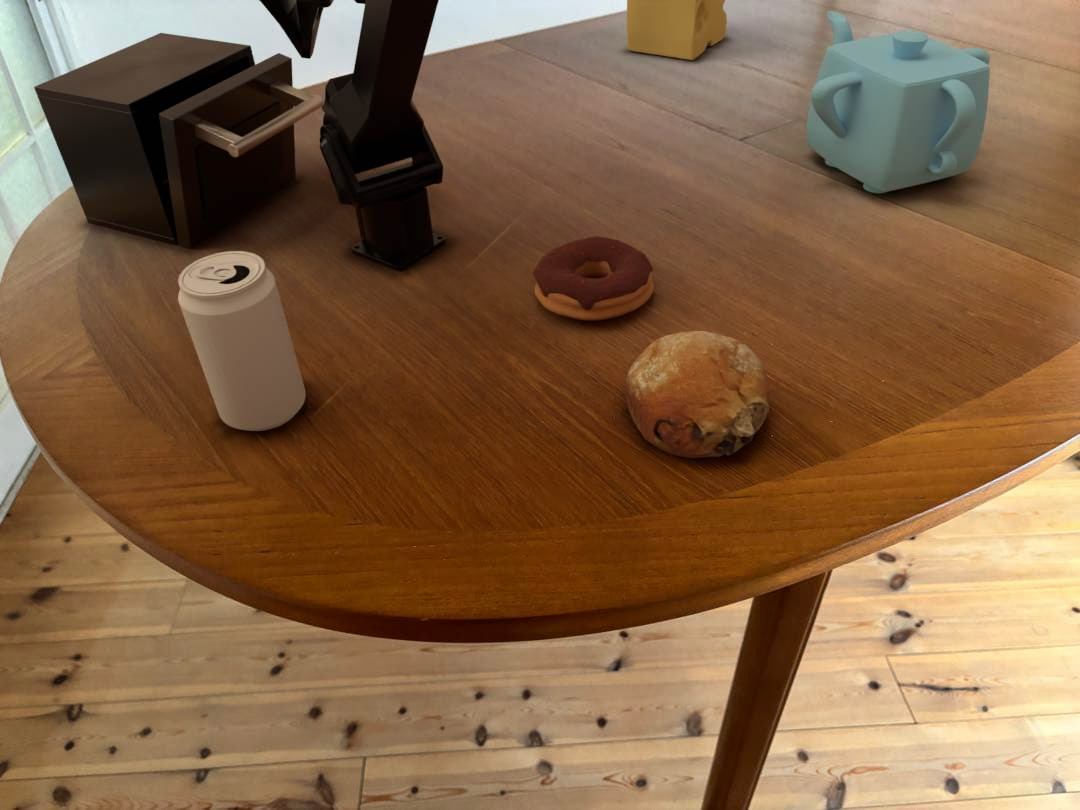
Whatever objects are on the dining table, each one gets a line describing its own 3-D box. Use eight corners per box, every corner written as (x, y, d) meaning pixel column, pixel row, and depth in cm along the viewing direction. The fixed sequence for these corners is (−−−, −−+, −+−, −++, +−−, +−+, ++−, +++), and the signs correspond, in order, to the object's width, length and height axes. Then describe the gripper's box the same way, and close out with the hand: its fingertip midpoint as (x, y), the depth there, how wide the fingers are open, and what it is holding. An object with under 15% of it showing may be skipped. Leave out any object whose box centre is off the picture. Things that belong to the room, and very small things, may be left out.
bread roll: (751, 421, 70) (751, 317, 68) (788, 462, 60) (789, 342, 58) (622, 428, 70) (619, 324, 68) (637, 470, 60) (634, 350, 58)
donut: (630, 258, 83) (631, 219, 80) (670, 316, 75) (673, 275, 73) (522, 278, 81) (520, 238, 78) (552, 339, 74) (550, 297, 71)
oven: (282, 177, 99) (250, 45, 90) (176, 246, 88) (128, 104, 79) (199, 159, 103) (160, 32, 94) (88, 223, 93) (33, 86, 84)
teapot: (983, 151, 96) (1020, 18, 88) (953, 219, 85) (992, 75, 77) (811, 123, 104) (830, -2, 95) (764, 183, 93) (780, 48, 84)
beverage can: (287, 442, 65) (244, 300, 58) (205, 433, 66) (153, 293, 59) (321, 387, 70) (286, 249, 62) (243, 379, 71) (200, 243, 64)
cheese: (725, 38, 127) (732, -40, 120) (692, 63, 120) (697, -18, 113) (657, 29, 131) (660, -47, 125) (622, 52, 124) (623, -27, 118)
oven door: (335, 198, 97) (335, 76, 88) (233, 271, 86) (221, 141, 77) (284, 174, 99) (278, 52, 89) (177, 244, 88) (158, 113, 78)
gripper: (415, -144, 80) (421, 28, 92) (207, -168, 81) (239, 5, 93) (386, -94, 73) (396, 85, 85) (157, -121, 74) (199, 60, 86)
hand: (307, 56), depth 87 cm, fingers closed
